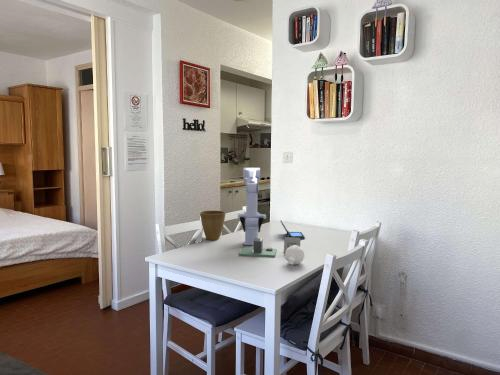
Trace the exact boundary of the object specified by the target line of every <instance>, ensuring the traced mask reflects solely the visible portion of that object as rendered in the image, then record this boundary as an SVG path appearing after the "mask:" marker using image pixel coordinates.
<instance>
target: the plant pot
mask: <svg viewBox="0 0 500 375" xmlns="http://www.w3.org/2000/svg"><path fill="white" fill-rule="evenodd" d="M199 213H200V221H201V225H202V229H203V233H204V236H205V239H206V240H208V241H217V240H220V237H221V234H222V231H223V228H224V224H225V220H226V211H223V210H204V211H202V210H201V211H200V212H199Z"/></svg>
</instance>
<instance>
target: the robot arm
mask: <svg viewBox="0 0 500 375" xmlns="http://www.w3.org/2000/svg"><path fill="white" fill-rule="evenodd" d="M242 176H243V177H242V179H243V180H242V181H243V183H244V184H245V195H246V200H245V201H246V204H245V205H246V208H245V209H246V210H245V212H244V213H238V214H237V218H238V219H239V221H240V223H241V227H242V229H243V233H244V242H243V245H244V246H254V239H255V238H259V233H260V232H261V228H262V224H263V222H264V220H266V219H267V215H266V214H262V213H260V212H258V194H259V184H260V181H261V168H260V167H243V169H242Z"/></svg>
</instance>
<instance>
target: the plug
mask: <svg viewBox="0 0 500 375" xmlns="http://www.w3.org/2000/svg"><path fill="white" fill-rule="evenodd" d="M263 240H264V239H263V238H262V237H261V238H260V237H258V238H255V239H254V245H253V248H254V253H262V250H263V247H264V246H263V243H264V241H263Z"/></svg>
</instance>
